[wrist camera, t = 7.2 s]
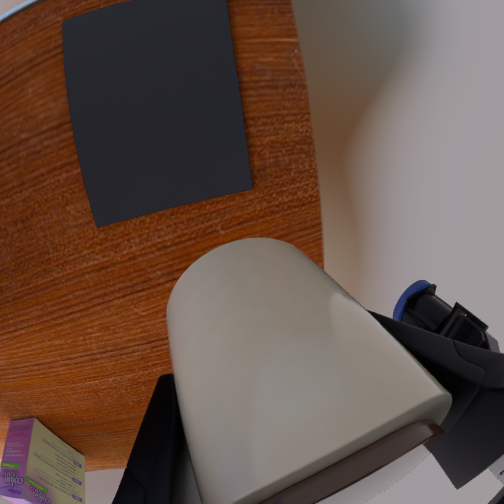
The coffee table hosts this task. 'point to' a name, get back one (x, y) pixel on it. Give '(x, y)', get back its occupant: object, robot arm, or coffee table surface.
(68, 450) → the box
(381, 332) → the jar
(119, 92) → the mat
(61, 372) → the coffee table surface
